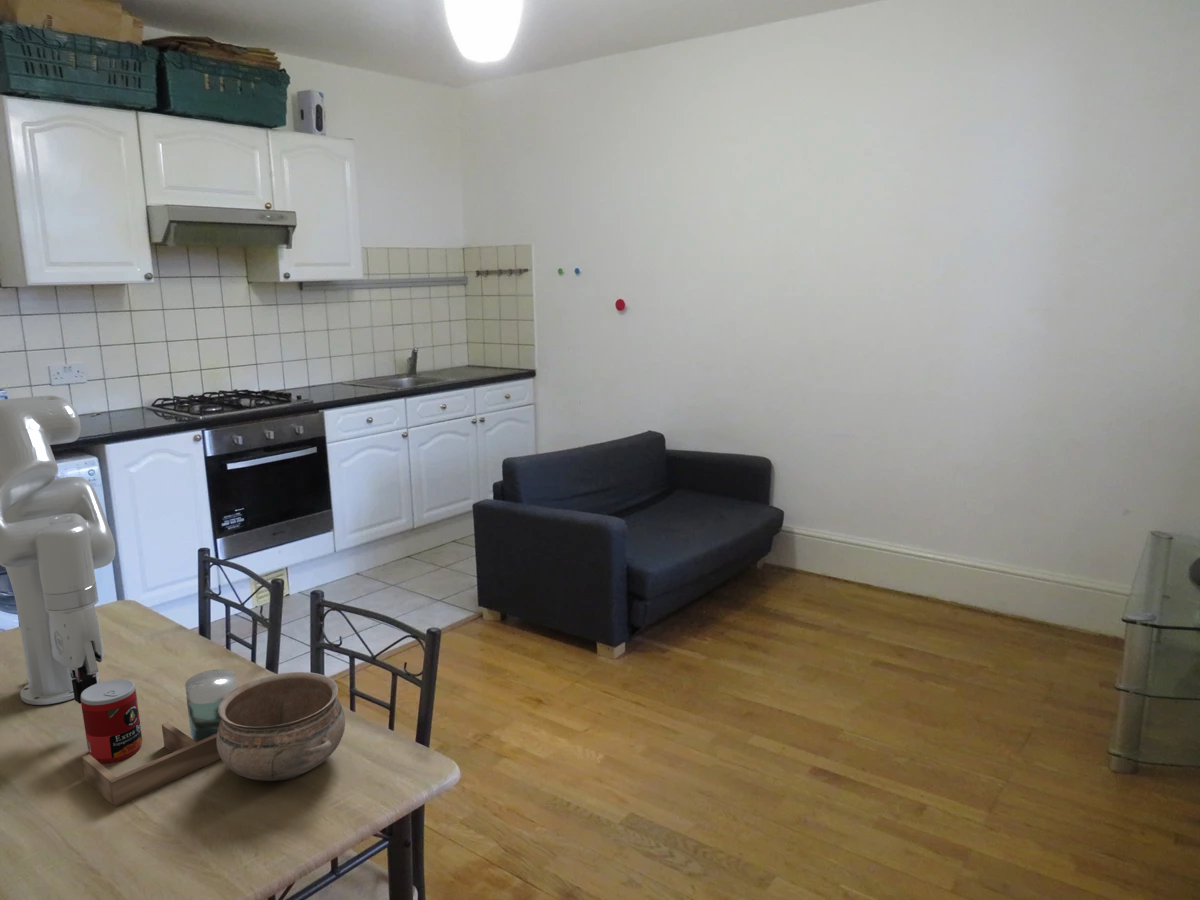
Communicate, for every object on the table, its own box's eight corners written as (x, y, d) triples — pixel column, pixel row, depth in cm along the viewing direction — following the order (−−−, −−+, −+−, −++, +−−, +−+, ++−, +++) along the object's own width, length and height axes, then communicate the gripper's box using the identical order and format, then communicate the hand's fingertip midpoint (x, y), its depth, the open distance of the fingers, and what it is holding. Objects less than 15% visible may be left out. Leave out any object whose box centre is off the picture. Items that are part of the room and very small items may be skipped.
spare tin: (183, 742, 140) (176, 681, 138) (227, 723, 146) (221, 665, 144) (206, 757, 136) (198, 695, 133) (250, 737, 141) (244, 677, 139)
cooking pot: (191, 764, 134) (183, 694, 131) (301, 718, 147) (295, 654, 145) (267, 831, 117) (259, 752, 115) (382, 772, 131) (377, 701, 129)
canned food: (119, 766, 133) (111, 703, 131) (77, 761, 135) (67, 698, 133) (154, 740, 141) (146, 680, 138) (113, 736, 142) (104, 676, 140)
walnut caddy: (85, 780, 130) (81, 756, 129) (238, 714, 149) (236, 694, 148) (115, 806, 123) (111, 782, 122) (272, 734, 142) (269, 713, 141)
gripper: (29, 595, 141) (46, 696, 144) (63, 613, 132) (80, 721, 135) (78, 582, 147) (93, 680, 150) (114, 599, 137) (129, 702, 141)
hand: (87, 699), depth 142 cm, fingers closed
